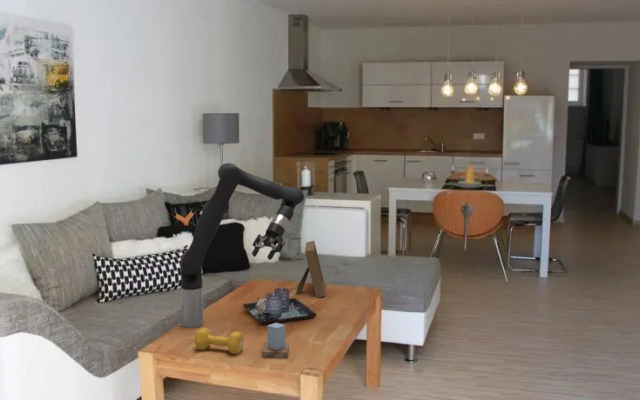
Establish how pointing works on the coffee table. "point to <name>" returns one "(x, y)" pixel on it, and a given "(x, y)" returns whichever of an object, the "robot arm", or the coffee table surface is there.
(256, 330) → the coffee table surface
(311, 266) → the photo frame
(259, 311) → the game die
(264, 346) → the slab
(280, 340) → the pillar
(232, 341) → the dumbbell
